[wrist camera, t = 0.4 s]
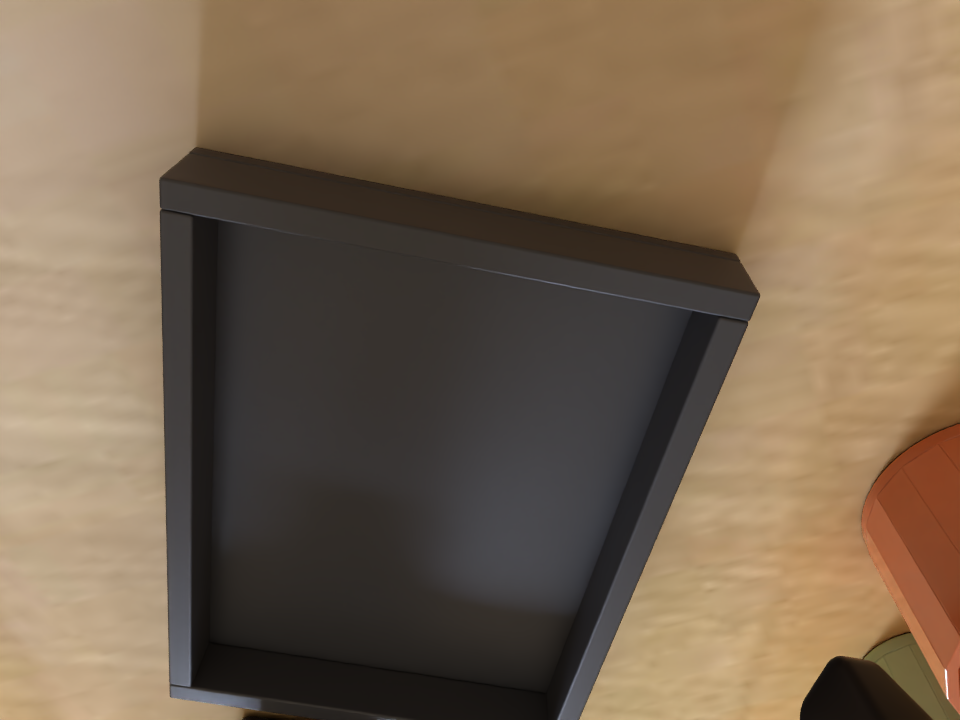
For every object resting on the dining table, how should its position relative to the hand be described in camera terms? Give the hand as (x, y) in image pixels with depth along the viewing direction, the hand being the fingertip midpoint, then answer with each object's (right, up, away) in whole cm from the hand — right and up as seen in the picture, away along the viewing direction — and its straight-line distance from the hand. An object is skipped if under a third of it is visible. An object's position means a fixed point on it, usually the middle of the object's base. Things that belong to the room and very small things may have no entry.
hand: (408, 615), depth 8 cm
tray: (-1, -1, +18) cm, 18 cm away
